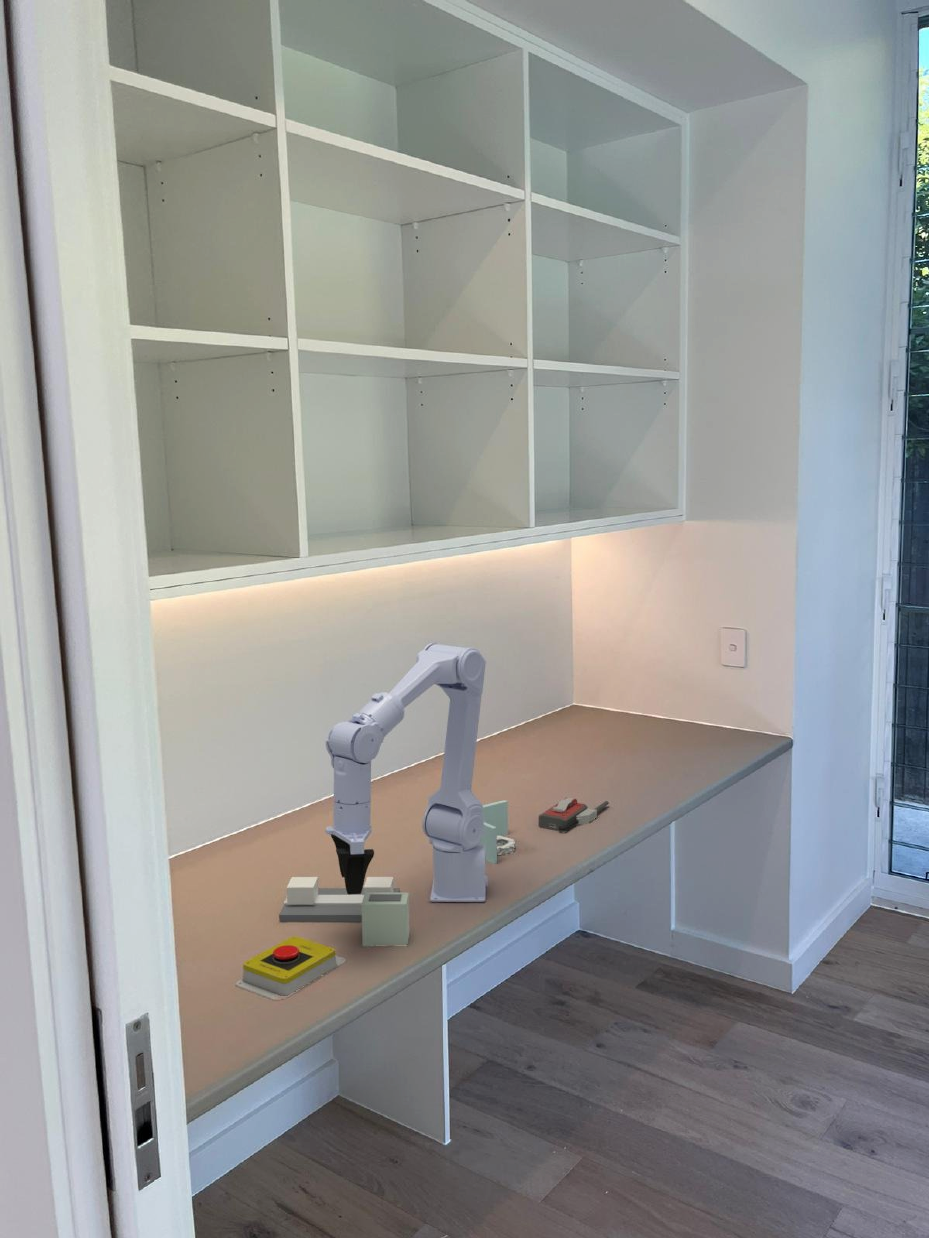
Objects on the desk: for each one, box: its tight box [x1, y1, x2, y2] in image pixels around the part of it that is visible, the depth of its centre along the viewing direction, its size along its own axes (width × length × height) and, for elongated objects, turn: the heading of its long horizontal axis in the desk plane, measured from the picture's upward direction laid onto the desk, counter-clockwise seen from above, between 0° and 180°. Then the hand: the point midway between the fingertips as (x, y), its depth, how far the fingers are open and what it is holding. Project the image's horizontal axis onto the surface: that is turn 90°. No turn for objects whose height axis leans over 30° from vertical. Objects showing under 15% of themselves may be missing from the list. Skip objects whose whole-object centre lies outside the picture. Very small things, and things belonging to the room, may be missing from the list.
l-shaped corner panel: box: [478, 799, 517, 865], centre depth 207 cm, size 12×12×8 cm
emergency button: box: [235, 935, 346, 1000], centre depth 157 cm, size 9×4×15 cm
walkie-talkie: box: [538, 796, 610, 833], centre depth 223 cm, size 9×4×20 cm
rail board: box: [278, 876, 401, 923], centre depth 180 cm, size 19×11×5 cm, turn 88°
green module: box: [361, 892, 411, 947], centre depth 168 cm, size 7×4×7 cm, turn 88°
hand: (351, 884), depth 165 cm, fingers open, 7 cm apart
